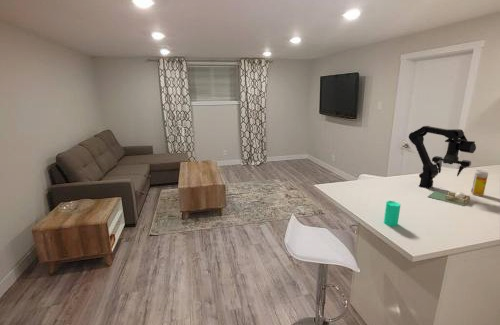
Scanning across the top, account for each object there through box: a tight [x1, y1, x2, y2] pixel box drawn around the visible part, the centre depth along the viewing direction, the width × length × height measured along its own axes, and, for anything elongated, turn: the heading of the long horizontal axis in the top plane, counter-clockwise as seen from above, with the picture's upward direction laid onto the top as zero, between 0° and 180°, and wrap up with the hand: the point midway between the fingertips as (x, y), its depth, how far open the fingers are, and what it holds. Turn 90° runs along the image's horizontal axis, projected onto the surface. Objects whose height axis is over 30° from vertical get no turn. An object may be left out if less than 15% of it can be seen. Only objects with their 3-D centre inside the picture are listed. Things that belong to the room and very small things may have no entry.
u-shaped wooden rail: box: [445, 191, 471, 205], centre depth 155 cm, size 10×9×2 cm
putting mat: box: [427, 190, 471, 207], centre depth 159 cm, size 18×14×1 cm
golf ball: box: [455, 191, 466, 199], centre depth 155 cm, size 4×4×4 cm
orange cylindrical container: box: [470, 169, 489, 197], centre depth 163 cm, size 6×6×15 cm
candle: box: [383, 200, 402, 227], centre depth 127 cm, size 6×6×12 cm
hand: (448, 174), depth 165 cm, fingers open, 9 cm apart
